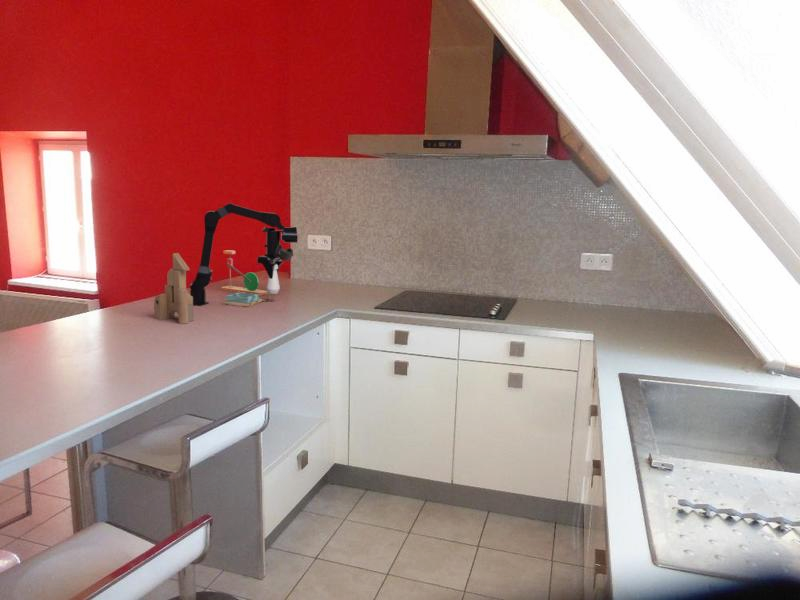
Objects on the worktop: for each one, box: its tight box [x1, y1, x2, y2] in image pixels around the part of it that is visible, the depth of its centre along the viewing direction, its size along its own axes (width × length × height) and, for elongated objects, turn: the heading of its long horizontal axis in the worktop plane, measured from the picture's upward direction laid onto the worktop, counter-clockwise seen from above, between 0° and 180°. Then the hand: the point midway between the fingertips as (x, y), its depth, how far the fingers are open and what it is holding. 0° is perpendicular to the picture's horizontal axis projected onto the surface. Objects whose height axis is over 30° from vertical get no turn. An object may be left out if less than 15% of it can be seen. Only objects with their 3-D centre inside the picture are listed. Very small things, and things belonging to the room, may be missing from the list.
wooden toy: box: [153, 252, 194, 325], centre depth 215 cm, size 15×7×25 cm, turn 63°
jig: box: [222, 292, 269, 307], centre depth 255 cm, size 18×12×4 cm, turn 166°
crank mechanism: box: [220, 249, 268, 294], centre depth 279 cm, size 25×7×19 cm, turn 62°
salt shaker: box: [266, 264, 281, 295], centre depth 255 cm, size 6×6×13 cm
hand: (273, 277), depth 255 cm, fingers closed on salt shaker, 3 cm apart
